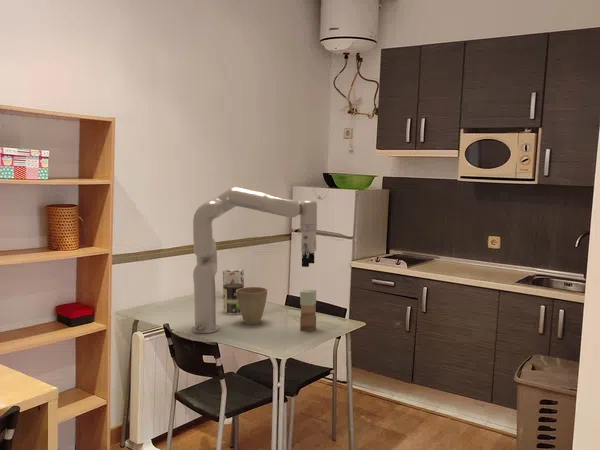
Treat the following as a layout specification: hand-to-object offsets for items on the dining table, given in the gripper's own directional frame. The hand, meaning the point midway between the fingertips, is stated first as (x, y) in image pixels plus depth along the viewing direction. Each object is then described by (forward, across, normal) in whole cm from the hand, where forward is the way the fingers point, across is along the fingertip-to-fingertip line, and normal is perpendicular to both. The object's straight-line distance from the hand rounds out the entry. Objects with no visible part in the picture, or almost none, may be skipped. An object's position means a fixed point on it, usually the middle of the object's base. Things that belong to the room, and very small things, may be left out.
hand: (308, 264), depth 270 cm
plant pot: (+30, +4, +29) cm, 42 cm away
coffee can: (+30, +20, +45) cm, 58 cm away
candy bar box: (+31, +50, +57) cm, 82 cm away
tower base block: (+30, 0, 0) cm, 30 cm away
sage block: (+18, 0, 0) cm, 18 cm away
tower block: (+24, 0, 0) cm, 24 cm away
